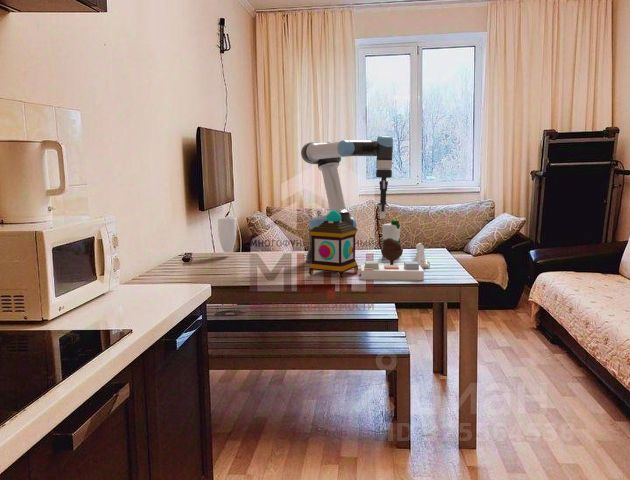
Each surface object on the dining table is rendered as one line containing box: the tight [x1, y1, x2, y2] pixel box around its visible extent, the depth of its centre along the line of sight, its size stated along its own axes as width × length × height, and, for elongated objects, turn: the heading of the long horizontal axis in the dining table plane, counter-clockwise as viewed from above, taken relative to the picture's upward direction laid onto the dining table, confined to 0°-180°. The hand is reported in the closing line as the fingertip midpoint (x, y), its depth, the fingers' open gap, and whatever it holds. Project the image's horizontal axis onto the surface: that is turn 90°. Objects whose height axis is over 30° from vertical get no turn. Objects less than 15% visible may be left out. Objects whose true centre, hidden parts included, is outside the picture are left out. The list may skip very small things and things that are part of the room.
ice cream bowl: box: [380, 238, 404, 265], centre depth 277 cm, size 11×11×15 cm
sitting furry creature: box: [412, 242, 431, 269], centre depth 283 cm, size 10×9×12 cm
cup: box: [217, 216, 237, 253], centre depth 313 cm, size 10×10×22 cm
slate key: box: [403, 260, 419, 269], centre depth 259 cm, size 6×6×4 cm
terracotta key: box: [383, 264, 399, 269], centre depth 259 cm, size 6×6×4 cm
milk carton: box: [381, 220, 402, 258], centre depth 310 cm, size 9×9×20 cm
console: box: [360, 264, 425, 281], centre depth 259 cm, size 28×14×5 cm, turn 86°
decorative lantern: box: [308, 210, 359, 279], centre depth 264 cm, size 20×20×30 cm
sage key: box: [364, 260, 380, 269], centre depth 260 cm, size 6×6×4 cm
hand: (382, 218), depth 276 cm, fingers closed
